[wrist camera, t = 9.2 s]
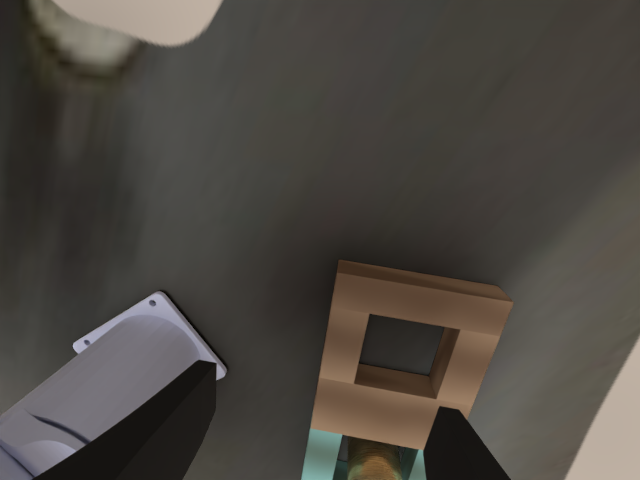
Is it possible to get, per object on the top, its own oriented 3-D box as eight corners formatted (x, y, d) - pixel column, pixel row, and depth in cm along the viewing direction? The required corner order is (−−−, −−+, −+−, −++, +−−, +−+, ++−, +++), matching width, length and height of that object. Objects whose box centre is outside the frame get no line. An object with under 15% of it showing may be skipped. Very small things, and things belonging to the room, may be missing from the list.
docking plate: (418, 496, 25) (424, 525, 23) (302, 472, 26) (298, 499, 24) (497, 285, 19) (513, 302, 17) (338, 259, 19) (337, 272, 17)
